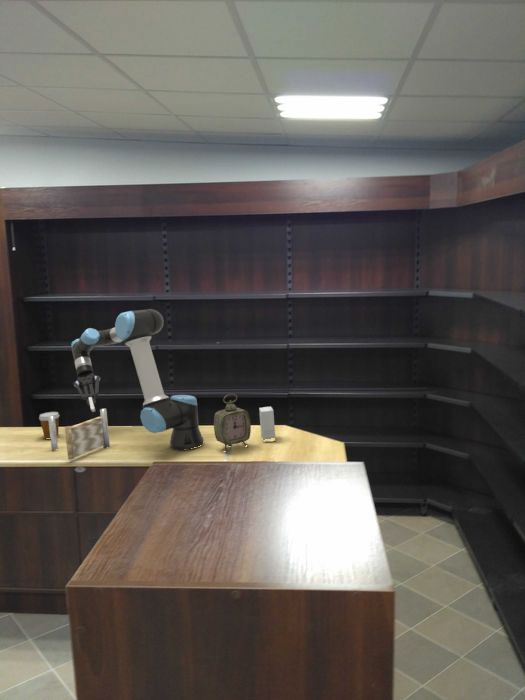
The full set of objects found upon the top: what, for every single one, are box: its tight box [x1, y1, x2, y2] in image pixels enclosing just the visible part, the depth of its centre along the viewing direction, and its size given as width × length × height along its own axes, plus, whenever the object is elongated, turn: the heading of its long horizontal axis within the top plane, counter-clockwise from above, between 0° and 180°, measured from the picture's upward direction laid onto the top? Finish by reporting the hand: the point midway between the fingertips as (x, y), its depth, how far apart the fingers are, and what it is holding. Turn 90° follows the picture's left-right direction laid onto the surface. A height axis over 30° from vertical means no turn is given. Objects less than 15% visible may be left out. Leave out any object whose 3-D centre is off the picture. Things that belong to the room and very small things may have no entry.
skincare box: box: [258, 406, 276, 441], centre depth 250 cm, size 8×6×15 cm
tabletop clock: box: [213, 393, 252, 452], centre depth 240 cm, size 14×9×25 cm, turn 123°
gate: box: [64, 416, 104, 460], centre depth 240 cm, size 20×2×14 cm, turn 150°
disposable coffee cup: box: [38, 411, 60, 439], centre depth 269 cm, size 10×10×12 cm
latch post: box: [48, 416, 59, 451], centre depth 249 cm, size 3×3×16 cm
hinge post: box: [99, 407, 111, 449], centre depth 250 cm, size 3×3×18 cm
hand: (93, 410), depth 256 cm, fingers closed
